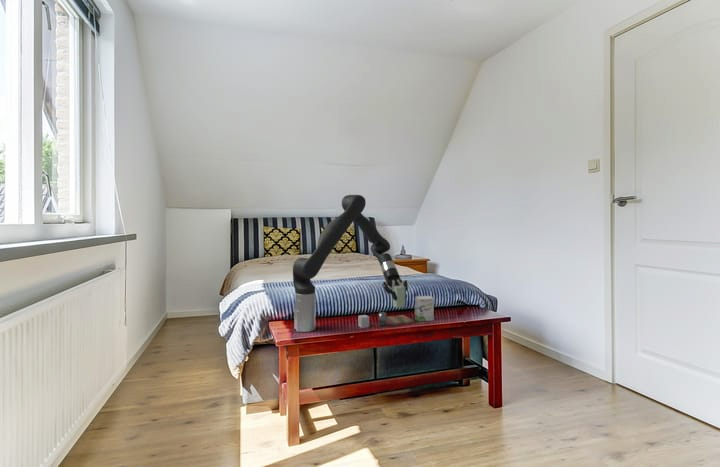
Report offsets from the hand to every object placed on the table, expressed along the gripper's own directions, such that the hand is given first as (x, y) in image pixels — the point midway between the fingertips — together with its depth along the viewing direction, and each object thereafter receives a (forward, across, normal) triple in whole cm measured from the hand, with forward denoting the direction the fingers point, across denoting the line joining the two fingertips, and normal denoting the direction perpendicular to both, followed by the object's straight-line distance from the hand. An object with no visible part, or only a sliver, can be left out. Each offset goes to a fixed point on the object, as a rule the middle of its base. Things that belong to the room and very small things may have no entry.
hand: (400, 299), depth 195 cm
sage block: (+2, 0, +4) cm, 5 cm away
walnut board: (+7, 0, +9) cm, 12 cm away
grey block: (+8, -20, +8) cm, 23 cm away
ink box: (+9, +13, +8) cm, 18 cm away
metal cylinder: (+10, -11, +6) cm, 16 cm away
